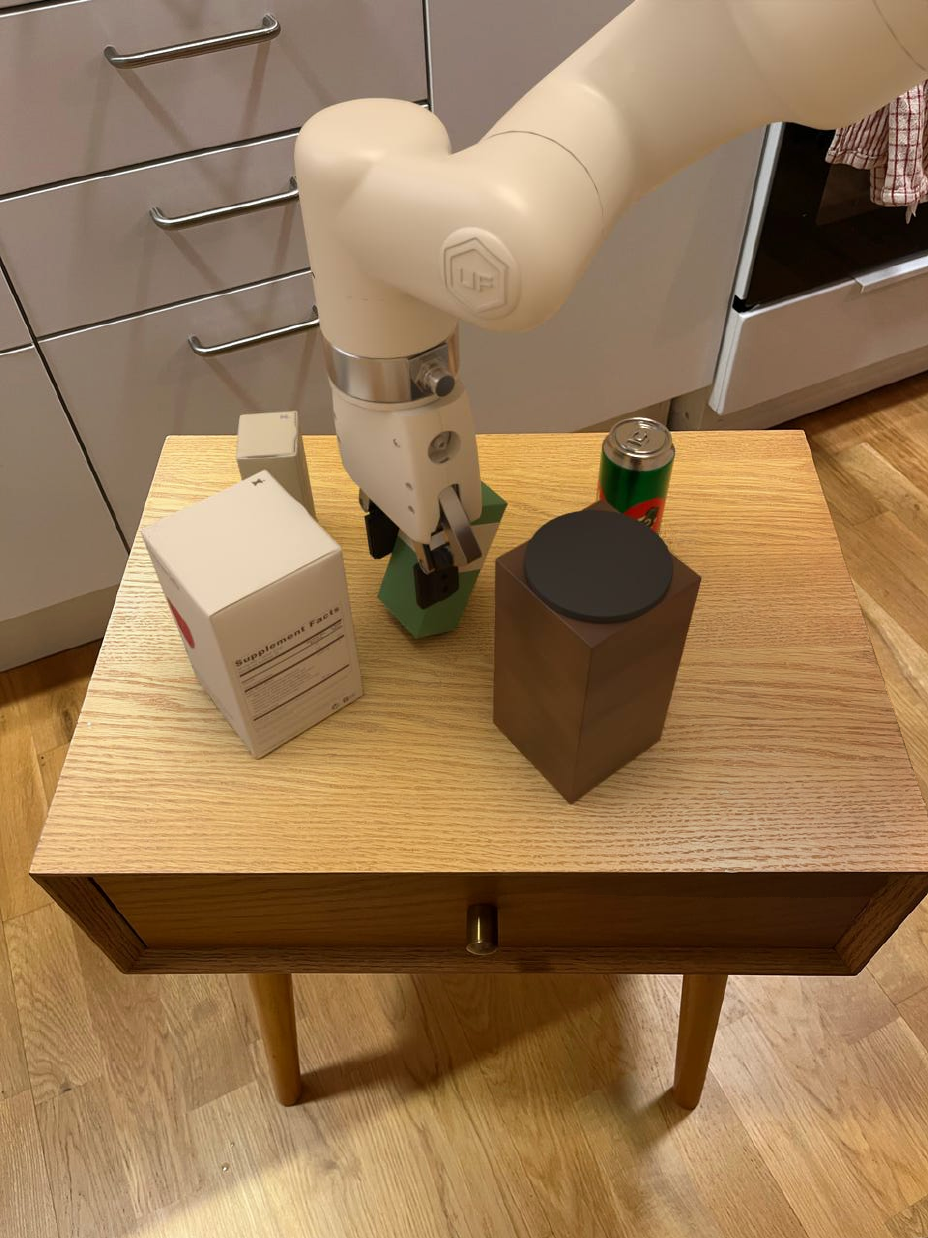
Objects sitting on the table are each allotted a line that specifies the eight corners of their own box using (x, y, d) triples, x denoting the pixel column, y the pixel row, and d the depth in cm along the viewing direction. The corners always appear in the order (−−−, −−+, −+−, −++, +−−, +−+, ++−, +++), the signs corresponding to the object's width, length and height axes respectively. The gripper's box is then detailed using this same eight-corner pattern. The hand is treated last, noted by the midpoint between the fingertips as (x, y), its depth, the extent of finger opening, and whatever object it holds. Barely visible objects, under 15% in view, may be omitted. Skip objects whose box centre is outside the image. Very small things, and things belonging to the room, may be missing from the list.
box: (265, 520, 78) (239, 410, 70) (318, 517, 79) (298, 406, 70) (262, 567, 75) (234, 457, 67) (317, 563, 75) (296, 453, 67)
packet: (463, 464, 67) (419, 467, 65) (508, 503, 65) (465, 507, 62) (417, 589, 73) (375, 597, 71) (457, 630, 71) (415, 639, 68)
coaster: (702, 577, 52) (704, 569, 51) (592, 648, 49) (593, 640, 48) (602, 497, 56) (603, 490, 56) (494, 558, 53) (494, 551, 53)
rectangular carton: (191, 677, 68) (133, 525, 57) (300, 618, 72) (266, 463, 60) (255, 764, 63) (205, 617, 52) (368, 696, 67) (344, 544, 55)
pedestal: (660, 740, 64) (702, 577, 52) (570, 805, 61) (592, 648, 49) (580, 665, 68) (602, 497, 56) (492, 722, 65) (494, 558, 53)
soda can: (664, 550, 75) (689, 428, 66) (636, 591, 73) (658, 469, 64) (606, 526, 77) (623, 404, 68) (577, 565, 75) (590, 444, 65)
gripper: (541, 397, 50) (532, 622, 64) (367, 265, 59) (392, 486, 73) (423, 454, 48) (440, 676, 61) (259, 306, 57) (306, 528, 71)
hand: (413, 571), depth 67 cm, fingers closed on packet, 5 cm apart
